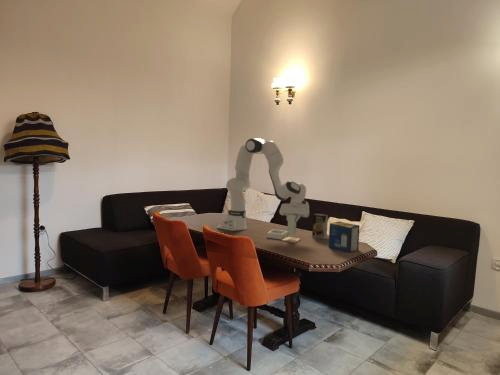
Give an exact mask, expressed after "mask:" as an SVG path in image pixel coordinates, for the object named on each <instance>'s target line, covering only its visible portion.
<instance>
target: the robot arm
mask: <svg viewBox="0 0 500 375" xmlns="http://www.w3.org/2000/svg"><path fill="white" fill-rule="evenodd" d="M237 153H238V154H237V156H236V161H235V165H234V170H235V177H232V178H229V180H228V181H227V182H226V185H225V186H226V189H227V191H228V193H229V196H230V197H229V198H230V209H229V210H227V213H228V214H227V215H225V216H224V217H223V218H222V219H221V221H220V224H219V225H217V229H222V230H226V231H233V232H234V231H244V230H245V231H246V230H247V229H248V227H247V223H246V222H247V221H246V216H247V213H246V211H247V210H246V198H245V196H244V191H245V192H246V191H247V190H248V189H249V188H250V187H251V181H250V169H251V165H252V160H253V158H254V155H255V154H256V155H258V154H259V155H262V154H263V155H264V156H265V159H266V161H267V164H268V174H269V177H270V179H271V182H272V186H273V189H274V190H273V191H274V195H275V197H276V199H278V200H279V201H282V202H283V203H281V205H280V208H279V215H281V216H286V221H287V222H288V215H289V214H294V215H296V218H295V221H296V222H298V221H299V219H301V217H302V218H308V217H310V204H309V202H308V201H306V200H305V198H306V195H307V188H306V186H305V185H304V183H300V182H299V183H297V182H295V181H293V180H287V181H285V183H283V184H282V182H281V179H280V176H279V173H280V170H281V167H283V166H282V165H283V164H284V156H283V154H282V153H281V150H280V148H279V146H278V145H277V144H276V142H275V141H273V140H268V141H267V140H266V139H264V138H260V137H259V138H257V137H256V138H255V137H254V138H253V137H252V138H249V139H248V140H246V142H245V144H242V145H241V146H240V148H239V150H238V152H237ZM289 197H291V198H290V202H289V203H287V202H284V201H286V200H287V199H289Z"/></svg>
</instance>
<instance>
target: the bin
mask: <svg viewBox="0 0 500 375" xmlns="http://www.w3.org/2000/svg"><path fill="white" fill-rule="evenodd" d="M287 233H288V230H282V229H281V230H280V229H275V228H274V229H271V230H270V231H268V232H266V238H269V239H277V240H282V239H284V238H285V237H289V236H288V235H289V234H287Z"/></svg>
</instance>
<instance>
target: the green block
mask: <svg viewBox="0 0 500 375" xmlns="http://www.w3.org/2000/svg"><path fill="white" fill-rule="evenodd" d="M295 218H297V216H296V215H294V214H289V215H288V221H287V231H288V233H287V234H288V235H290V236H295V235H296V233H297V221H295Z"/></svg>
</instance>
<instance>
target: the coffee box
mask: <svg viewBox="0 0 500 375" xmlns="http://www.w3.org/2000/svg"><path fill="white" fill-rule="evenodd" d="M312 215H313V216H312V217H313V218H312V234H311V235H312V236H311V238H316V239H326V238H328V237H327V236H328V220H329V215H328V214H324V213H314V214H312Z"/></svg>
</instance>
